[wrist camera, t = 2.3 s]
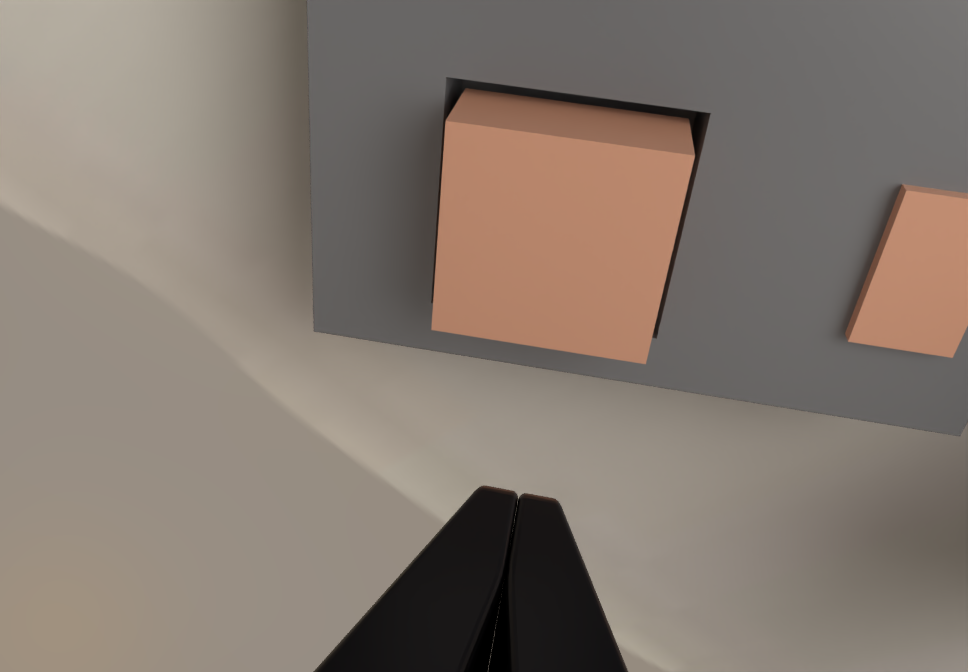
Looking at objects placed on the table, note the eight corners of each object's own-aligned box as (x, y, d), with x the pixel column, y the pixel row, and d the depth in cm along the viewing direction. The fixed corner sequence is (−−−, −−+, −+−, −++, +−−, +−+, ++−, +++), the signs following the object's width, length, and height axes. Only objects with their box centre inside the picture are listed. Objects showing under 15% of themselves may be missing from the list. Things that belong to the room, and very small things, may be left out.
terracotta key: (645, 312, 18) (645, 364, 16) (450, 282, 18) (431, 329, 17) (688, 118, 16) (694, 155, 14) (465, 88, 16) (445, 120, 14)
